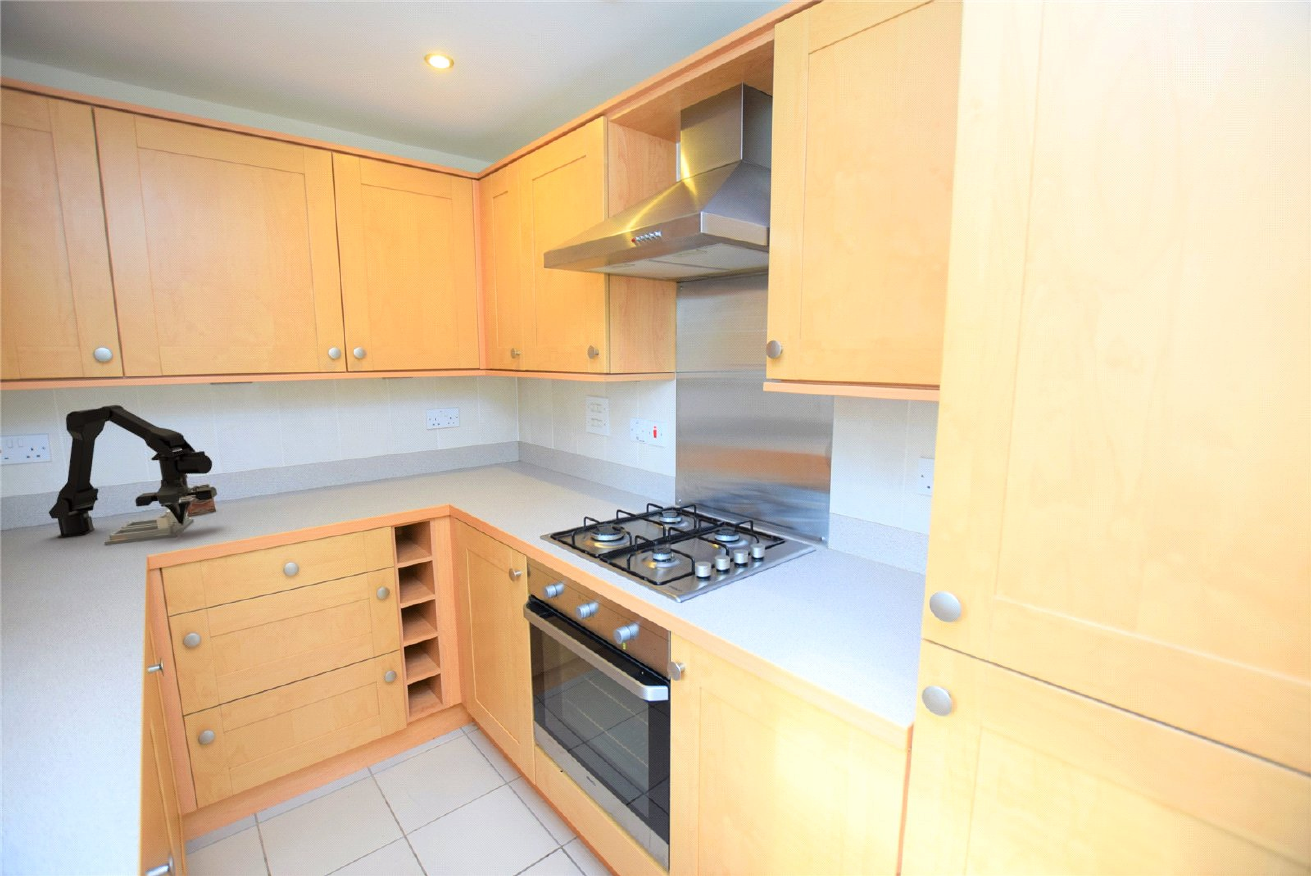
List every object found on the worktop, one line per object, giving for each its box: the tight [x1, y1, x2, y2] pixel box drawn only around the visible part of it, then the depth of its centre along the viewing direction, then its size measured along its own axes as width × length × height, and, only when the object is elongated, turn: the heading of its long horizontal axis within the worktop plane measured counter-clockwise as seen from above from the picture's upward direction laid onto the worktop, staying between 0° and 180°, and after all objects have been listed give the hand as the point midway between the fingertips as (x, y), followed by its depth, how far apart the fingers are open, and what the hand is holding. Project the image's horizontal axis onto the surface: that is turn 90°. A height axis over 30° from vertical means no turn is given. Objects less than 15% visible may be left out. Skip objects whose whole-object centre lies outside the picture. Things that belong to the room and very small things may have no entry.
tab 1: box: [155, 513, 173, 529], centre depth 179 cm, size 2×4×5 cm, turn 22°
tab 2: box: [165, 509, 177, 521], centre depth 187 cm, size 2×4×5 cm, turn 22°
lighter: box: [186, 483, 217, 518], centre depth 200 cm, size 8×3×10 cm, turn 143°
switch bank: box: [103, 515, 195, 546], centre depth 182 cm, size 17×16×2 cm
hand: (181, 523), depth 181 cm, fingers closed
